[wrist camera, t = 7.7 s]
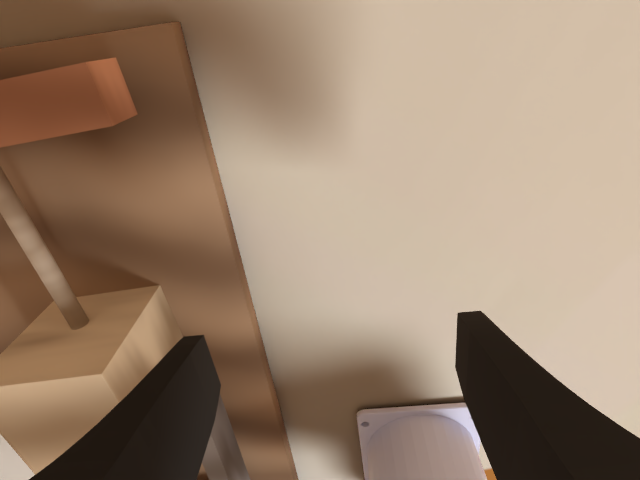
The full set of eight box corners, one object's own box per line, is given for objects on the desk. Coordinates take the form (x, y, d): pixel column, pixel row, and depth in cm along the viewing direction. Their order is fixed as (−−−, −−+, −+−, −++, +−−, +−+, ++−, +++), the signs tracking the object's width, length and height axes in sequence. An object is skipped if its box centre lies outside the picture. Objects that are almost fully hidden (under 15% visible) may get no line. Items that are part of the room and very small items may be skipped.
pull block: (246, 362, 23) (221, 461, 18) (57, 385, 25) (-18, 484, 19) (134, 54, 16) (33, 69, 10) (-133, 110, 17) (-344, 150, 12)
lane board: (301, 490, 31) (297, 542, 28) (104, 500, 32) (80, 551, 29) (180, 22, 16) (143, 21, 13) (-179, 76, 17) (-290, 88, 14)
